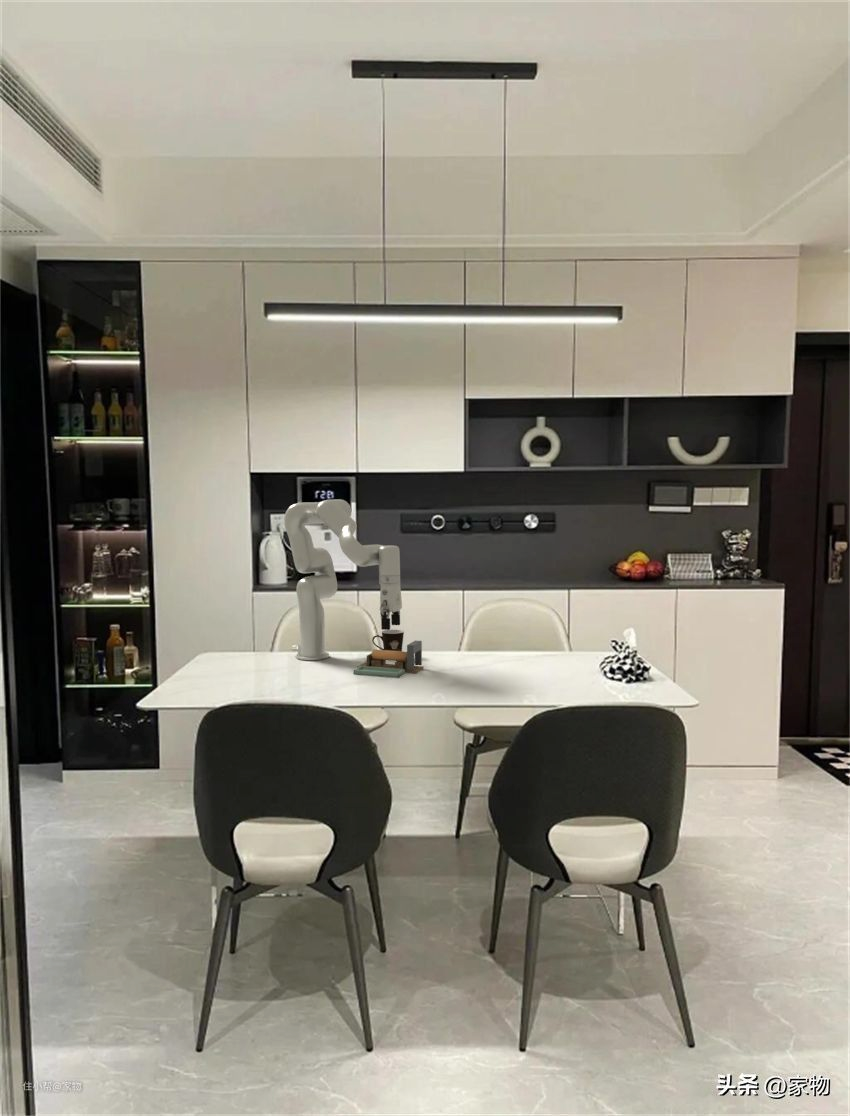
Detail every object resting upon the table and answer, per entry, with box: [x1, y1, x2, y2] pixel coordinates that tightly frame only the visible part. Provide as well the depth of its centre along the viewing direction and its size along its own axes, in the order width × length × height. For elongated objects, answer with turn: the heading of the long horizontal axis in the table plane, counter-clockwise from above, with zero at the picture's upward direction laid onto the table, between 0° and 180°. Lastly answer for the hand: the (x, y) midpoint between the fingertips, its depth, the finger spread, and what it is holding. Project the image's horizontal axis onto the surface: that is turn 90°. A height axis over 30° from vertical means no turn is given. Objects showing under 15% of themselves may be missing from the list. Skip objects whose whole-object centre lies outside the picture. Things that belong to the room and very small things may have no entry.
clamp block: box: [356, 652, 425, 675], centre depth 283 cm, size 23×7×5 cm, turn 71°
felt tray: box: [352, 666, 406, 679], centre depth 276 cm, size 17×7×2 cm, turn 71°
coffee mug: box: [371, 629, 405, 651], centre depth 304 cm, size 12×9×10 cm
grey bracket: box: [406, 640, 423, 670], centre depth 280 cm, size 2×9×9 cm, turn 161°
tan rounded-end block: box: [371, 649, 407, 662], centre depth 283 cm, size 13×4×4 cm, turn 71°
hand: (390, 627), depth 282 cm, fingers open, 9 cm apart
